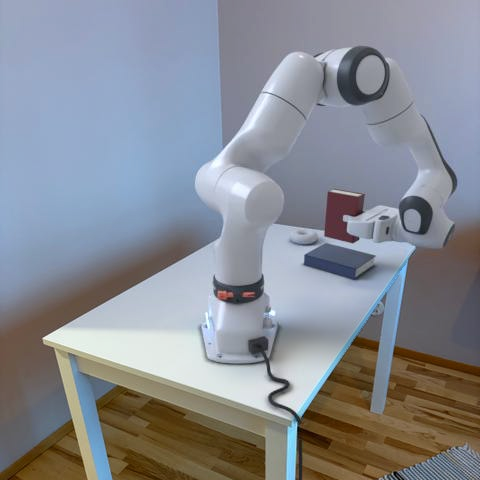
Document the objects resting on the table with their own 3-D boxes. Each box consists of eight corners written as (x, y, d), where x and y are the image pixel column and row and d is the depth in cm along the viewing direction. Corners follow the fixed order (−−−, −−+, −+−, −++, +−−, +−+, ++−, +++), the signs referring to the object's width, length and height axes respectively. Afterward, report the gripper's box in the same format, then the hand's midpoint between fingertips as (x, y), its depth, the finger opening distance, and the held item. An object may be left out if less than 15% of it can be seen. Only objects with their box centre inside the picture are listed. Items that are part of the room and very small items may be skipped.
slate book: (354, 279, 138) (355, 268, 136) (303, 264, 148) (304, 254, 146) (374, 265, 147) (375, 255, 145) (325, 252, 157) (325, 242, 155)
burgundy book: (353, 243, 139) (358, 196, 132) (324, 236, 144) (327, 191, 137) (359, 239, 141) (364, 193, 134) (330, 233, 147) (334, 188, 140)
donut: (288, 236, 171) (290, 245, 162) (289, 227, 169) (290, 236, 161) (316, 236, 171) (319, 245, 162) (316, 227, 169) (319, 236, 160)
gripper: (409, 204, 135) (366, 197, 143) (378, 222, 122) (332, 212, 130) (406, 225, 139) (363, 217, 146) (375, 245, 125) (330, 234, 133)
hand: (348, 215), depth 138 cm, fingers closed on burgundy book, 4 cm apart
